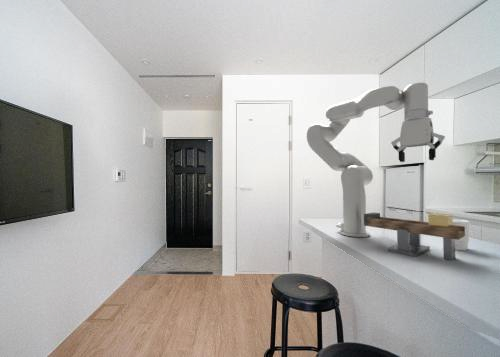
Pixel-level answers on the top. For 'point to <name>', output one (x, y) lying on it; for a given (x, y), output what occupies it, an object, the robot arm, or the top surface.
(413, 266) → the top surface
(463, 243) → the white cup
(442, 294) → the top surface
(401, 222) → the beam
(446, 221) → the block
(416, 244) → the pivot stand
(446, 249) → the block
